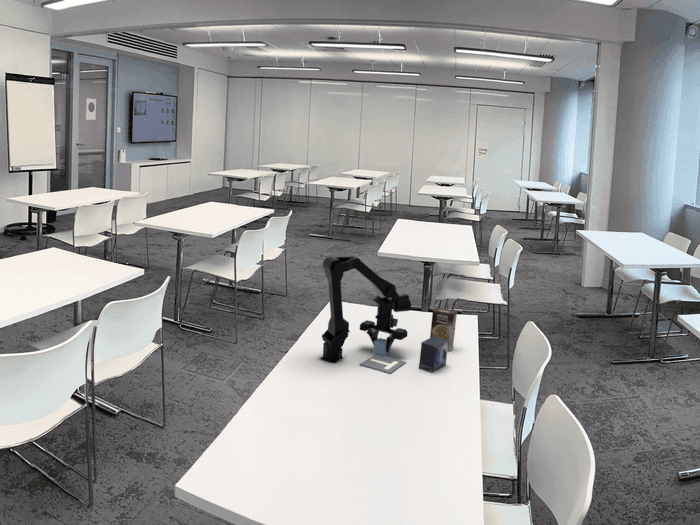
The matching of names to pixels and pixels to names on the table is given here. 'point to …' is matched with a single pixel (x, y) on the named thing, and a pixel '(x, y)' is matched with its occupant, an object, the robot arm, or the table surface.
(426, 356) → the small box
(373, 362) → the letter card
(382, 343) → the blue cube
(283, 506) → the table surface
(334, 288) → the robot arm
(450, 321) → the coffee box
